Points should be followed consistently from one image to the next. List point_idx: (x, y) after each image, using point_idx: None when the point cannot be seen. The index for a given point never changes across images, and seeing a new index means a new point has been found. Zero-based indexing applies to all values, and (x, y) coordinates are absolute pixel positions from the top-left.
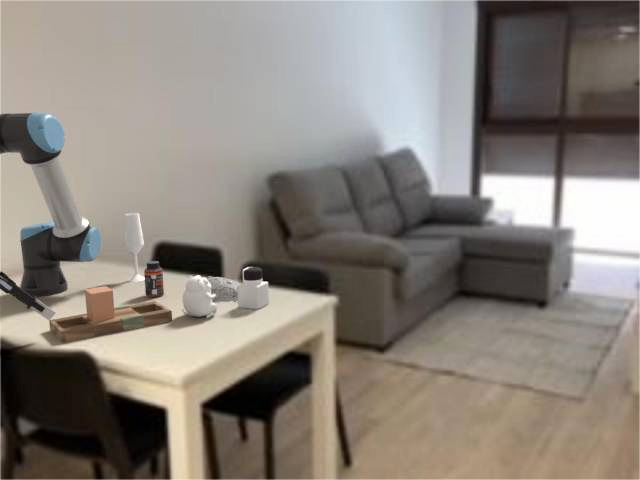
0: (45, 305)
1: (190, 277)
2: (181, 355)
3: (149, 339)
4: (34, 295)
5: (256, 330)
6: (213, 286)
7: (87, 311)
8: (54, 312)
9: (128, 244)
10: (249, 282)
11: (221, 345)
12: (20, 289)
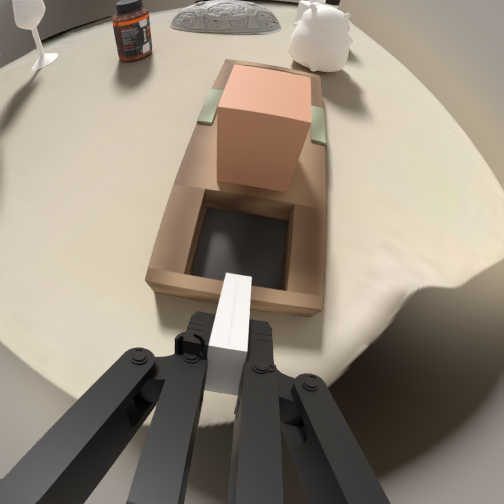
0: (248, 309)
1: (315, 7)
2: (481, 191)
3: (403, 168)
4: (207, 347)
5: (419, 88)
6: (238, 12)
7: (226, 168)
8: (250, 282)
9: (26, 17)
10: (334, 7)
11: (460, 140)
12: (385, 496)
